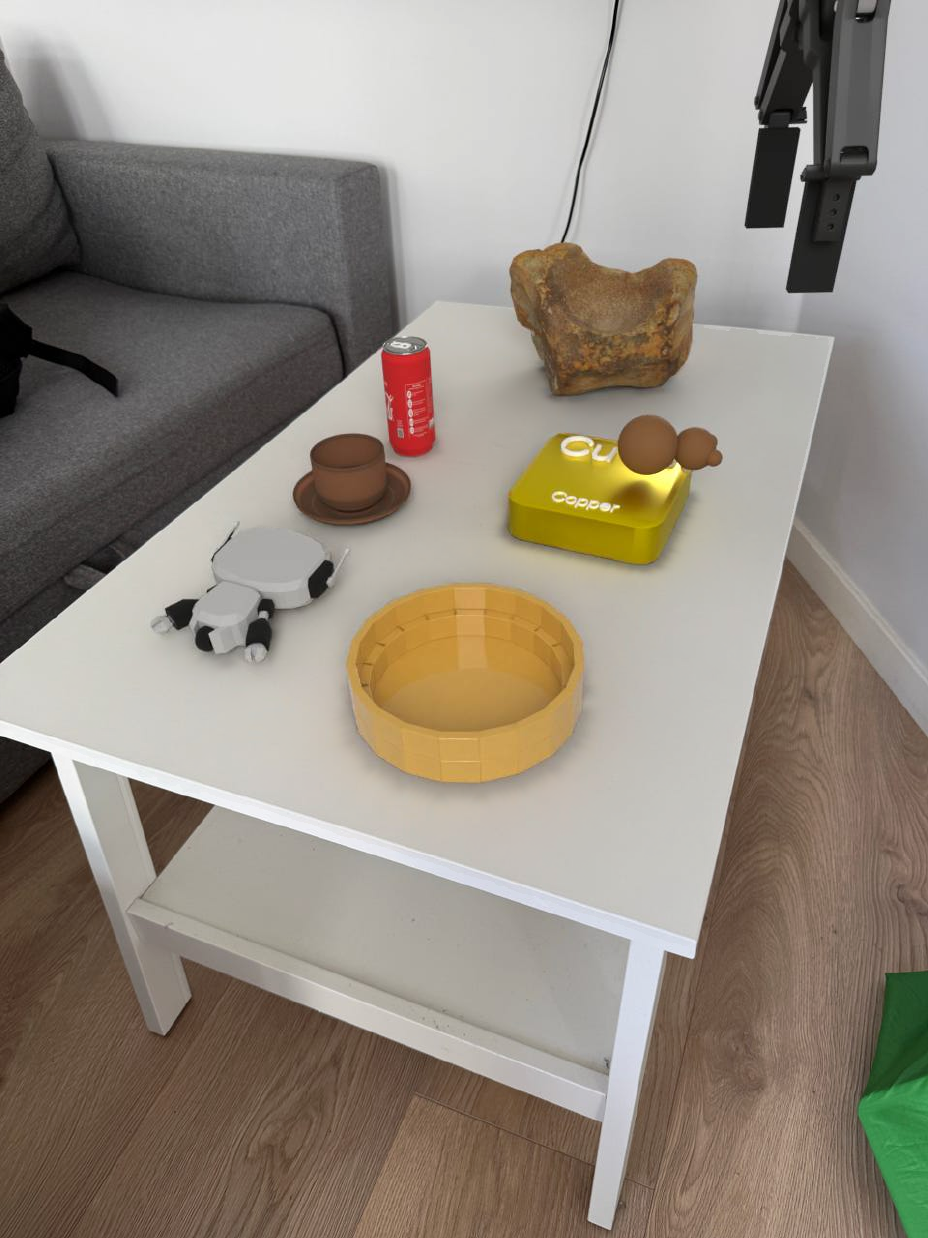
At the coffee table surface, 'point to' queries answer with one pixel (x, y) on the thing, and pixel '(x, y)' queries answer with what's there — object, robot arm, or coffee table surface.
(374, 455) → the cup and saucer
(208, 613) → the robot toy
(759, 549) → the coffee table surface
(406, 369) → the beverage can
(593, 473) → the element tile
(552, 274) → the rough brown rock
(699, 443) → the plush bear
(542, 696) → the ochre bowl
